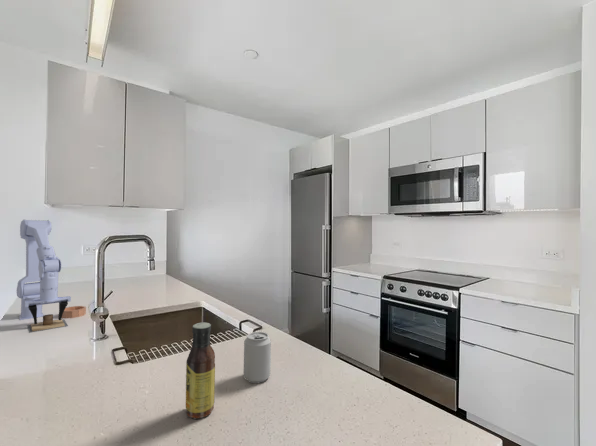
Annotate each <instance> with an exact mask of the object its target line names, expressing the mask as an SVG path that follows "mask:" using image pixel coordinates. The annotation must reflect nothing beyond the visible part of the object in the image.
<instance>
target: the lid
mask: <svg viewBox="0 0 596 446" xmlns="http://www.w3.org/2000/svg"><path fill="white" fill-rule="evenodd" d="M43 315H44V316H43V317H42V321H40V322H37V324H34V322H33V323H31V324H30V325H31V328H32V333H34V332H33V331H37V332H39V331H38V330H43V331H45V330H44V329H49V330H51V329H50V328H55V329H57V328H56V327H61V328H63V327H62V326H65V324H64V322H63V321H62V320H63V318H61V320H59V319H54V314H49V313H48V314H43Z"/></svg>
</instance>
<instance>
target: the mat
mask: <svg viewBox="0 0 596 446" xmlns="http://www.w3.org/2000/svg"><path fill="white" fill-rule="evenodd" d="M62 321H63V322H64V324H65V326H62V327H56V328H50V329H44V330H38V331H33V332H32V328H31V324H28V325H26V327H27V330H28V333H29V334H31V333H37V332H42V331H47V330H54V329H55V330H56V329H59V328H67V327H69V325H68V323H67V322H66V320H65V319H62Z"/></svg>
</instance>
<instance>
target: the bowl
mask: <svg viewBox="0 0 596 446" xmlns="http://www.w3.org/2000/svg"><path fill="white" fill-rule="evenodd" d="M86 314H87V307H86V306H85V305H73V306H66V308H65V310H64V312H63V315H62V318H61V319H74V318H79V317H83V316H85V315H86Z"/></svg>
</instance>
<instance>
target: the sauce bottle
mask: <svg viewBox="0 0 596 446" xmlns="http://www.w3.org/2000/svg"><path fill="white" fill-rule="evenodd" d="M191 328H192V331H191V332H192V343H191V344H192V345H191V348H190V351H189V352H188V353H189V354H188V356H187V358H186V362H185V363H186V364H185V365H186V366H185V368H186V369H185V370H186V371H185V409H186V415H187V416H188V418H192V419H202V418H206V417H207V416H209V415H211V414H212V412H213V410H214V408H215V406H214V405H215V404H214V403H215V395H216V393H215V386H216V379H215V378H216V363H215V361H216V354H215V350H214V349H213V347H212V346H211V344H210V343H211V332H212V324H211V323H209V322H198V323H195V324H194V323H193V325H192V327H191Z"/></svg>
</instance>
